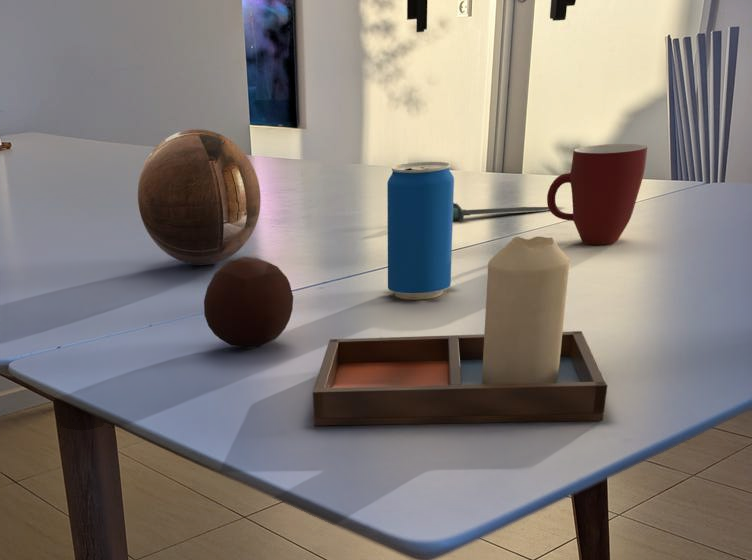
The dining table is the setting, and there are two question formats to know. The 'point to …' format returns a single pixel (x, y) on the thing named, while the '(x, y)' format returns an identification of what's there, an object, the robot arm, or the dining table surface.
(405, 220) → the beverage can
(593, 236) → the mug
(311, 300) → the dining table surface
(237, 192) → the brown shiny sphere
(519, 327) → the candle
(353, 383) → the sorting tray
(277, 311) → the dark brown ball
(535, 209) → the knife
